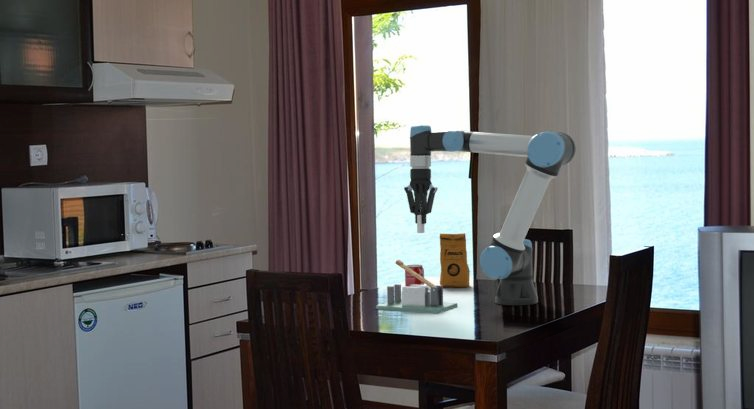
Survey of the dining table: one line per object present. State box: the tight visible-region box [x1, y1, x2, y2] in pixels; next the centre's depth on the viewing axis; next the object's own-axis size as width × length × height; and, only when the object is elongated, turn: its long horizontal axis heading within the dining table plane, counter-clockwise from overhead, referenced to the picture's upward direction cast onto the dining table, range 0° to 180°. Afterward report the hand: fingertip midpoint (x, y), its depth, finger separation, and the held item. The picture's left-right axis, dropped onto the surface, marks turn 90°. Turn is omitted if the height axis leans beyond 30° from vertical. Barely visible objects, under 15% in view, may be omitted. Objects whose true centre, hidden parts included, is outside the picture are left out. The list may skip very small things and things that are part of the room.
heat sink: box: [401, 284, 431, 307], centre depth 328 cm, size 9×9×6 cm
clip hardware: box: [386, 283, 444, 307], centre depth 328 cm, size 19×7×8 cm, turn 60°
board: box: [375, 299, 458, 314], centre depth 328 cm, size 24×16×1 cm, turn 60°
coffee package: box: [439, 232, 471, 288], centre depth 381 cm, size 10×12×22 cm
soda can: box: [404, 264, 425, 287], centre depth 346 cm, size 7×7×13 cm
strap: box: [395, 259, 436, 287], centre depth 328 cm, size 17×2×1 cm, turn 60°
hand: (420, 232), depth 338 cm, fingers closed
